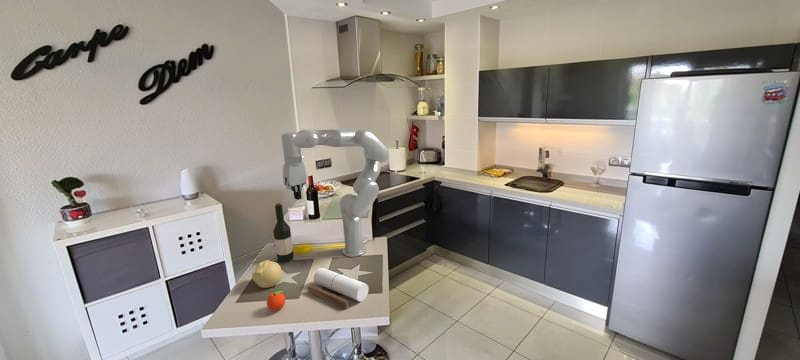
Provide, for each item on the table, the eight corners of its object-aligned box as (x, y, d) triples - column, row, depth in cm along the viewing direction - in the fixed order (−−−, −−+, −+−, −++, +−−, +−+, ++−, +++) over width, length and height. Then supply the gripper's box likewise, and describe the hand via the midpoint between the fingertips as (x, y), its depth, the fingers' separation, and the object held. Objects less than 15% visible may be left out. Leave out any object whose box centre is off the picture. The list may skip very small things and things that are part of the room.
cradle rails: (330, 278, 150) (329, 272, 150) (367, 292, 138) (367, 286, 138) (308, 292, 140) (307, 286, 139) (346, 309, 128) (345, 302, 127)
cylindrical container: (318, 286, 146) (361, 304, 132) (311, 277, 142) (354, 295, 128) (328, 273, 150) (370, 289, 137) (321, 264, 146) (364, 280, 132)
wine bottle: (289, 263, 166) (281, 207, 158) (274, 262, 167) (265, 206, 160) (297, 255, 173) (290, 201, 166) (283, 254, 175) (275, 201, 167)
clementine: (282, 300, 136) (280, 284, 134) (292, 306, 131) (290, 290, 129) (264, 310, 130) (261, 294, 128) (273, 316, 125) (271, 300, 124)
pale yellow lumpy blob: (261, 277, 154) (257, 256, 151) (286, 276, 154) (283, 255, 151) (250, 291, 143) (246, 269, 140) (278, 290, 143) (274, 268, 140)
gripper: (301, 156, 156) (305, 193, 161) (273, 162, 144) (279, 202, 149) (311, 157, 152) (315, 195, 156) (284, 164, 140) (290, 204, 145)
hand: (298, 198), depth 153 cm, fingers closed
